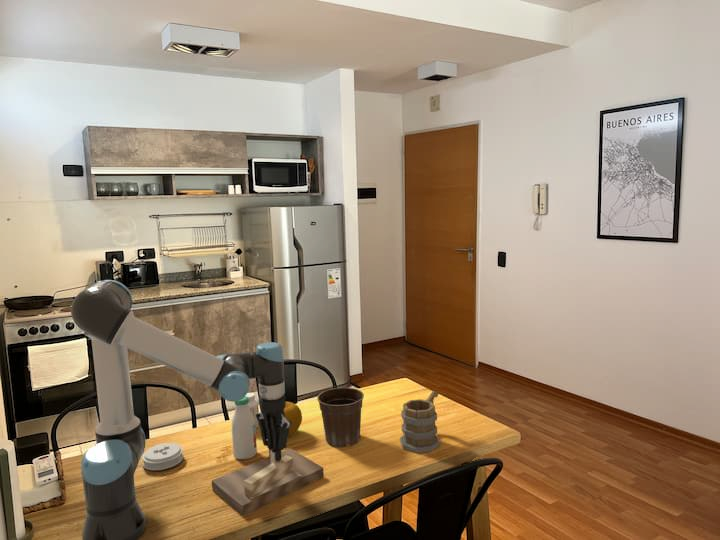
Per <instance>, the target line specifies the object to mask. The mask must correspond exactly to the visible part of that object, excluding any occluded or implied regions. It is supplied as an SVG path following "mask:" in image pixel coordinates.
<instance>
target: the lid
mask: <svg viewBox="0 0 720 540" xmlns="http://www.w3.org/2000/svg"><path fill="white" fill-rule="evenodd" d="M183 449H184V448H183V446H182V445H179V444H177V443H173V442H165V443H163V442H162V443H158V444H155V445H153V446H151V447H149V448H147V450H146V451H144V452H143V454H142V456H141V459H142V460H141V461H142V467H143V468H144V469H146V470H147V471H148V470H149V471H163V470H167V469H170V468H172V467H175V466H177V465H179V464H180V463H181V462H182V461H183V460H184V453H183V451H184V450H183Z"/></svg>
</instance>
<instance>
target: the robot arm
mask: <svg viewBox="0 0 720 540" xmlns="http://www.w3.org/2000/svg"><path fill="white" fill-rule="evenodd" d="M132 307H133V296H132V293H131V291H130V290H129V288H128V287H127V286H126V285H125V284H123V283H121V282H120V281H117V280H112V279H104V280H99V281H96V282H94V283H93V284H91V285H90V286H88V287H87V288H85V289H83V290H81V291H80V292H79V293H78V294H77V295H76V296H75V298H73V301H72V303H71V306H70V315H71V319H72V320H73V324H75V326H77V327H78V329H80V330H81V331H82V332H83V333H84V335H85V337H88V338H89V339H90V340H91V347H92V357H93V367H94V374H95V375H94V376H95V384H96V392H97V403H98V413H99V422H98V424H97V425H96V426H95V428H94V432H95V433H94V434H95V443H96V444H95V445H94V446H91V447H90V448H88V449H87V450H86V451H85V452H84V454H83V455H82V458H81V463H80V464H81V465H80V473H81V476H82V484H83V491H84V499H85V507H86V514H85V515H86V516H85V520H84V524H83V528H82V532H81V533H82V534H81V539H82V540H138V539H139V538H140V537H141V536H142V535H143V534H144V533H145V531H146V528H147V524H146V522H147V521H146V516H145V514H144V512H143V510H142V508H141V507H140V504H139V502H138V500H137V496H136V495H137V494H136V485H135V473H136V471H137V467H138V465H139V463H140V460H141V459H142V455H143V454H144V453H145V448H146V441H147V440H146V435H145V432H144V430H143V428H142V426H141V425H142V424H141V419H140V418H139V417H137V416H136V415H135V413H134V404H133V393H132V384H131V373H130V365H129V352H128V351H129V350H130V351H132V352H135V353H137V354H139V355H141V356H144V357H146V358H148V359H150V360H153V361H154V362H157V363H158V364H161V365H163V366H165V367H166V368H169V369H172V370H174V371H176V372H178V373H180V374H182V375H184V376H186V377H188V378H191V379H193V380H195V381H197V382H200V383H201V384H203V385H206V386H208V387H210V388H212V389H214V390H215V391H218V392H219V393H220V396H221V397H222V398H223V399H224V400H225V401H227V402H232V403H233V402H234V403H235V401H239V400H241V399H243V398H244V397H245V396H246V394H247V393H249V388H250V384H251V383H250V380H251V379H258V395H259V399H258V400H259V409H260V410H261V411H260V412H259V413H258V414H256V418H257V420H258V422H259V430H260V434H261V440H262V444H263V446H265V447H267V449H268V457H270V459H271V464H272V463H274V462H275V461H279V460H281V451H284V450H286V449H287V445H288V439H289V437H288V433H289V427H290V426H291V424H292V422H291V421H287V419H286V418H285V413H284V408H285V405H286V404H285V402H286V395H285V393H286V388H285V387H286V386H285V366H284V365H285V363H284V353H283V352H284V351H283V350H284V349H283V347H282V345H281V344H280V343H278V342H271V341H270V342H269V341H268V342H264V343H259V344H258V345H257V346H256V350H255V351H252V352H241V353H240V352H239V353H225V354H221V355H220V354H219V355H217V356H216V355H213V354H212V353H210V352H207V351H205V350H203V349H201V348H199V347H197V346H195V345H193V344H191V343H189V342H187V341H185V340H183V339H181V338H179V337H177V336H175V335H172V334H171V333H168V332H167V331H165V330H164V329H163V330H162V329H160V328H158V327H156V326H154V325H152V324H150V323H147V322H146V321H144V320H142V319H140V318H137V316H136V317H135V314H134V312H133V310H131V308H132Z"/></svg>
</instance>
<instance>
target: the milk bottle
mask: <svg viewBox="0 0 720 540" xmlns="http://www.w3.org/2000/svg"><path fill="white" fill-rule="evenodd" d="M248 404H249V398H248V397H247V396H245V397H244V398H243V399H241V400H239V401H235V402H234V406H235V409H234V413H233V415H232V419H231V437H232V452H233V457H234V458H235V459H238V460H241V459H242V460H243V459H244V460H250V459H251V458H254V457H255V456H256V455H257V453H258V446H257V432H256V430H257V429H255V421H254V417H253V415H252V413H251V411H250V409H249V406H248Z"/></svg>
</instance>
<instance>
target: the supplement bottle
mask: <svg viewBox="0 0 720 540" xmlns="http://www.w3.org/2000/svg"><path fill="white" fill-rule="evenodd" d="M246 396H247V397H248V398H249V404H248V406H249V409H250V411H251V413H252V415H253V417H254V421H255V430H257V429H259V428H260V426H259V422H258V420H257V418H256V414H258V413H260V412H259V409H260V407H259V402H258V400H257V399H256V394H255V393H253V392H247V394H246Z"/></svg>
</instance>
